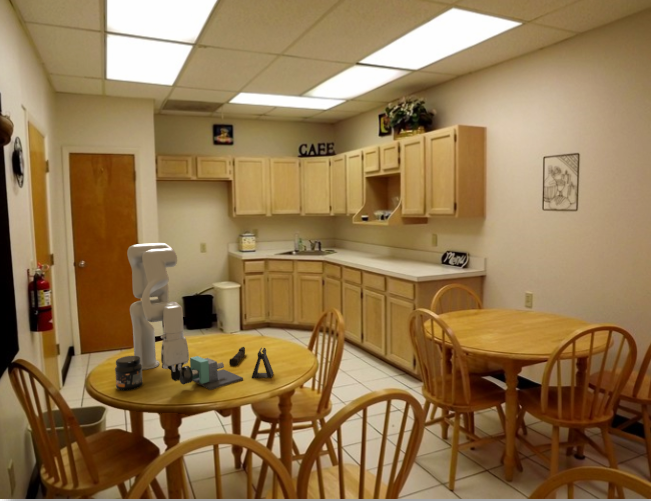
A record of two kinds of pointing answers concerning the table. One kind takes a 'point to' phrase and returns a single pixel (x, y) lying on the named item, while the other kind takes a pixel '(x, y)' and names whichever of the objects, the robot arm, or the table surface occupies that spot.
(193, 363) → the spacer
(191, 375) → the shaft
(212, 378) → the bracket
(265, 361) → the phone stand
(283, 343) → the table surface
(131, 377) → the supplement container
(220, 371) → the base plate
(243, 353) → the hand tool
